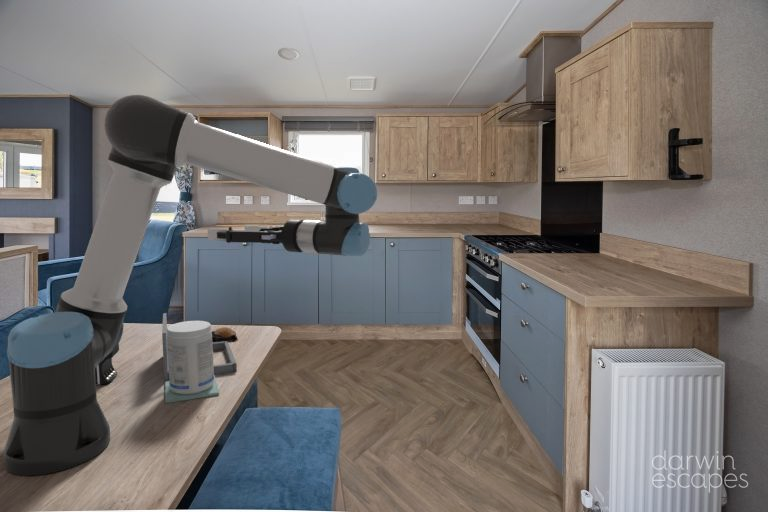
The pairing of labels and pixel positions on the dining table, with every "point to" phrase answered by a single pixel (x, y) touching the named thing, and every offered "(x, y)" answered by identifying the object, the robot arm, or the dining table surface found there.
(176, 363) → the supplement tub
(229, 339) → the bread roll
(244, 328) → the dining table surface
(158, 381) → the dining table surface
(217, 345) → the grey open frame
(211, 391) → the mat
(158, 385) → the dining table surface
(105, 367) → the battery charger
